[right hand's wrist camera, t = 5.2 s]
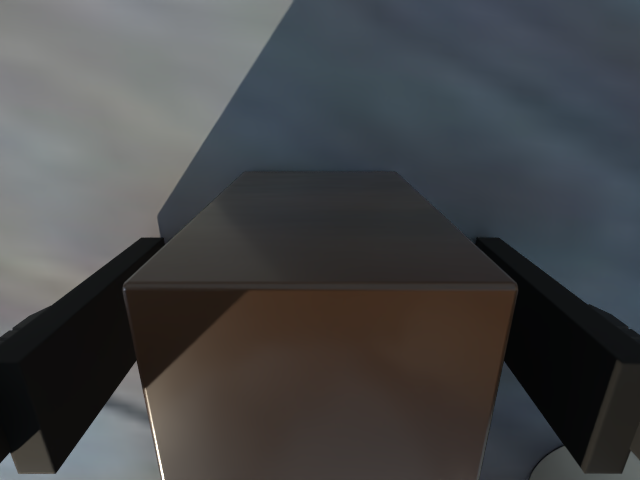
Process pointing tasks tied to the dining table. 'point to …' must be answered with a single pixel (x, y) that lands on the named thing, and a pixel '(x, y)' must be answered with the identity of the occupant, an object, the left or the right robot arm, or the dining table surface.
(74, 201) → the dining table surface
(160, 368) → the walnut plank
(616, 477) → the cylinder
